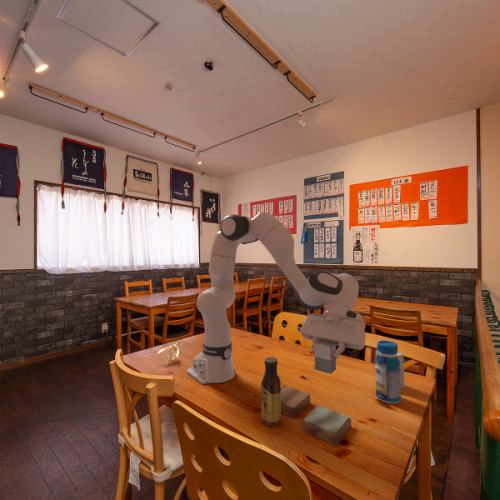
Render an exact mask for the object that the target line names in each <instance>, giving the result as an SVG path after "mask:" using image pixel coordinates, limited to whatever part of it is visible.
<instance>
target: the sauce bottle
mask: <svg viewBox="0 0 500 500" xmlns="http://www.w3.org/2000/svg"><path fill="white" fill-rule="evenodd" d="M264 367H265V368H264V374H263V377H262V380H261V383H260V384H261V386H260V387H261V388H260V389H261V390H260V392H261V393H260V394H261V402H260V405H261V408H260V409H261V410H260V411H261V412H260V413H261V420H262V423H263V424H264V425H266V426H270V427H275V426H278V425H280V423H281V420H282V412H281V387H282V385H281V384H282V383H281V379H280V376H279V375H278V359H277V358H276V357H270V356H269V357H266V358H264Z"/></svg>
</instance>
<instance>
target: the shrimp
mask: <svg viewBox="0 0 500 500" xmlns="http://www.w3.org/2000/svg"><path fill="white" fill-rule="evenodd" d="M161 352H162V353H161ZM163 352H166V353H165V355H163V358H165V357H166V358H165V360H164V361H162V363H161V364H162V365H169V364H170V362H169V361H170V360H171V361H172V360H175V359H174V358H175V355H176V357H177V358H179V356H180V354H179V353H181V354H183V353H182V352H181V350H179V345H178V341H175V342H174V343H172V344H171V345H169V346H166V347H165V348H162V350H159V351H158V353H156V354H155V356H157V355H159V354H160V355H161V354H163Z"/></svg>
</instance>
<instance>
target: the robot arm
mask: <svg viewBox="0 0 500 500" xmlns="http://www.w3.org/2000/svg"><path fill="white" fill-rule="evenodd" d="M219 229H220V230H219V231H217V232H216V234H215V235H214V238H213V240H212V245H211V250H210V256H209V264H208V274H209V277H210V283H211V284H210V288H206V289H205V290H203V291H202V292H201V293H200V294H199V295H198V297H197V298H196V307H197V310H198V311H199V313H200V314H201V316H202V318H203V324H204V336H205V337H204V339H205V340H204V341H205V342H204V343H201V345H200V346H201V348H202V347H203V349H202V351H200V353H199V354H197V355H196V356H194V358H193V360H192V366H190V367H189V368H188V369H187V370H186V373H187V375H189V376H191V377H192V378H194V379H195V380H196V381H198V382H199V383H200V384H203V385H205V384H221V383H225V382H228V381H231V380H233V379H234V378H235V376H236V373H235V366H234V362H233V354H232V352H233V351H232V350H233V345H232V340H231V324H230V322H229V320H228V317H227V308H229V307H231V306H232V305H233V303H234V302H235V300H236V292H235V282H234V281H235V279H234V274H235V268H236V267H235V266H236V258H237V249H238V247H239V246H240V245H241V244H242V245H248V244H252V243H256V242H258V241H260V243H261V244H262V245H263V246H264V247H265V249H266V251H268V253H269V254H270V255H271V257H272V258H273V260H274V262H275V264H276V266H277V267H278V269H279V271H280V272H281V273H282V274H283V276H284V278H285V279H286V280H287V281H288V282H289V284H290V286H291V287H292V288H293V289H294V291H295V294H296V296H297V299H298V301H299V303H300V305H301V306H302V307H304V309H307V310H309V311H319V310H320V309H322V308H323V307H324V305H325V307H324V311H323V313H315V312H314V313H309V314H307V316H306V318H305V320H304V322H303V323H302V324H301V325H302V326H301V327H300V330H299V332H300V335H301V337H302V338H303V339H306V340H310V341H311V342H312V348H311V352H312V354H315V345H314V343H316V342H318V341H319V340H323V341H328V342H333V343H336V346H338V347H336V348H337V349H336V351H335V350H333V351H332V357H333V358H335V359H336V360H338V359H339V356H340V354H342V353H343V352H344V351H345V349H346V348H348V349H353V350H358V351H362V350H363V349H364V348H365V344H366V336H367V335H366V334H367V333H366V331H365V329H366V323H365V321H364V319H363V316H362V315H361V314H360V313H358V312H356V311H354V307H355V305H356V304H357V300H358V296H359V289H360V288H359V287H360V285H359V282H358V280H357V279H356V277H354V276H353V275H352V274H349V273H345V272H343V273H332V272H329V271H327V270H324V269H316V270H313V271H312V272H311V273H310V274H309V275H308V276H307V278H306V276H305V275H304V274H303V272H302V271H301V270H300V268H299V267H298V265H297V264H296V260H295V239H294V236H293V235H292V233H291V231H290V230H289V229H288V228H287V227H286V226H285V225H284V224H283V223H282V222H281V221H280V220H279V219H278V218H276V216H274V215H273V214H272V213H269V212H267V211H260V212H258V213H257V214H255V215H254V216H253V217H249V216H248V215H247V216H246V215H239V214H229V215H226V216H224V218H222V220H221V222H220V225H219ZM325 303H326V304H325Z"/></svg>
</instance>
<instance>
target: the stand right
mask: <svg viewBox="0 0 500 500" xmlns="http://www.w3.org/2000/svg"><path fill="white" fill-rule="evenodd" d="M300 423H301V427H300V428H301V429H300V430H301V431H303V432H305V433H307V434H310V435H311V436H314V437H316V438H318V439H320V440H322V441H324V440H325V442H326V443H330V444H331V445H333V444H334V445H333V446H335V445H336V447H338V445H339V444H340V442H342V440H343V438H344V437H345V436H346V434H347V433H348V431H349V430H350V429H351V427H352V418H351V417H350V416H348V415H345V414H343V413H340V412H337V411H335V410H332V409H330V408H326V407H324V406H322V405H317V406H316V407H315V408H313V410H312V411H311V412H310V413H309V414H308V415H306V417H304V418H303V419H302V420H301V422H300ZM341 439H342V440H341ZM338 443H339V444H338Z"/></svg>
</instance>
